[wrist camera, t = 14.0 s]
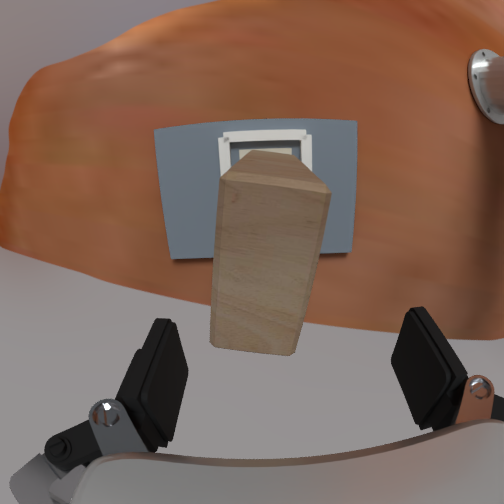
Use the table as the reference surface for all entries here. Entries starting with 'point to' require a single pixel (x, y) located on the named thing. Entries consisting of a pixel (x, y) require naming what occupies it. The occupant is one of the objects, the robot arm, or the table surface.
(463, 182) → the table surface
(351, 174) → the board
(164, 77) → the table surface
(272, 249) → the decorative block
